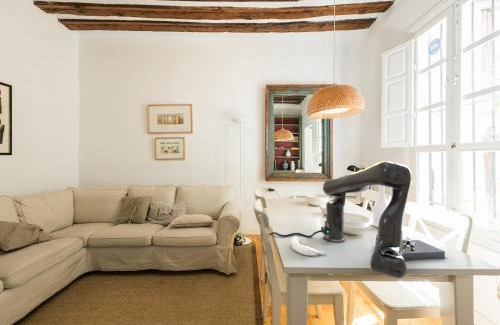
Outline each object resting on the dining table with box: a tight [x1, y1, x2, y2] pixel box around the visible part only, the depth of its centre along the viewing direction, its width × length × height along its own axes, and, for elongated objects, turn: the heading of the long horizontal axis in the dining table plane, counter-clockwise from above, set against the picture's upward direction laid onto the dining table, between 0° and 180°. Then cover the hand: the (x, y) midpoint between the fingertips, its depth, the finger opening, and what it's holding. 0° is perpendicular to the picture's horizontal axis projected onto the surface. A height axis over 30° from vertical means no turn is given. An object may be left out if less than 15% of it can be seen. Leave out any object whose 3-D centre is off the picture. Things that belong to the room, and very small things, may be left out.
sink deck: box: [374, 239, 446, 261], centre depth 108 cm, size 24×14×3 cm, turn 97°
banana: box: [290, 236, 325, 256], centre depth 111 cm, size 5×19×15 cm
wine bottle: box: [372, 185, 389, 228], centre depth 148 cm, size 10×10×30 cm
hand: (396, 237), depth 102 cm, fingers open, 8 cm apart
